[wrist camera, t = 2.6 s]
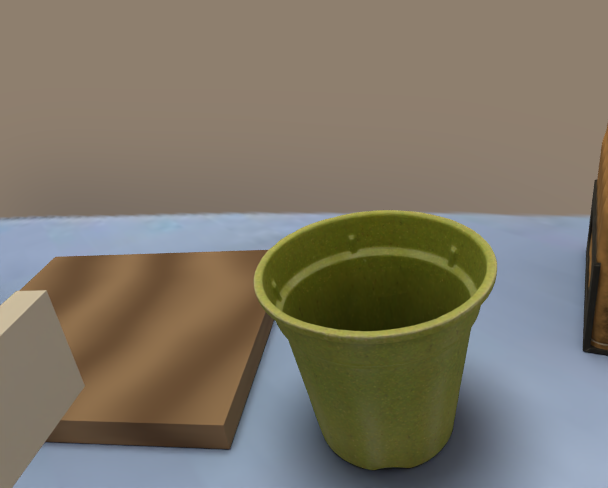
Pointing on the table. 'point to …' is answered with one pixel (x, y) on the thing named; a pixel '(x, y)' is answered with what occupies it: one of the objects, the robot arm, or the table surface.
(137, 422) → the walnut board
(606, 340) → the ammunition clip
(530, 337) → the table surface
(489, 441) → the table surface
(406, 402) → the plant pot
